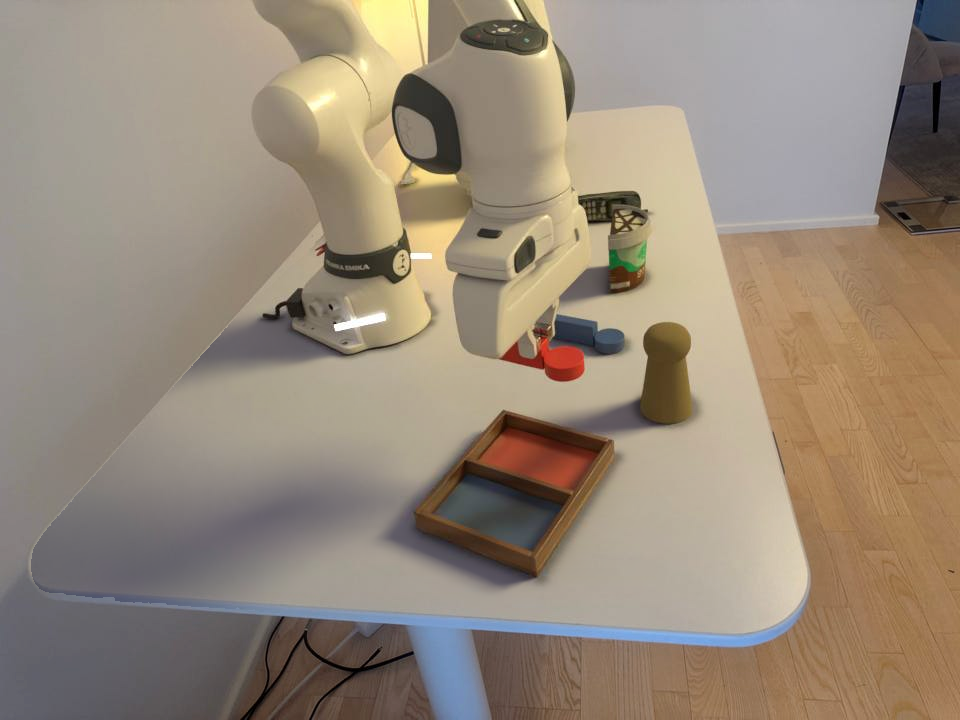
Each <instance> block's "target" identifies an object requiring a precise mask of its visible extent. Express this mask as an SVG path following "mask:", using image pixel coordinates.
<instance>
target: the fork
mask: <svg viewBox="0 0 960 720" xmlns="http://www.w3.org/2000/svg"><path fill="white" fill-rule="evenodd" d="M416 166H417V165H415V164H414V163H412V162H411V165H410V167H409V169H408V172H407V174H406V176H405V177H404V179H402V180H401V182H400V183H398V185H399V186H400V185H410V184H413V183H414V182H415V181H416V179H415V177H413V174H412V171H413V169H414V168H415V167H416Z"/></svg>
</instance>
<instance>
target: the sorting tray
mask: <svg viewBox="0 0 960 720" xmlns="http://www.w3.org/2000/svg"><path fill="white" fill-rule="evenodd" d="M614 460H615V440H614V439H611V438H608V437H603V436H600V435H596V434H593V433H590V432H586V431H581V430H579V429H574V428H572V427H568V426H564V425H560V424H556V423H553V422H549V421H545V420H542V419H538V418H536V417H535V418H534V417H531V416H528V415H524V414H520V413H516V412H513V411H509V410H507V409H506V410H505V409H502V410H500V412H499V413H498V415H497V416H496V417H494V419H493V420H492V421H491V422H490V424H489V425H488V426H487V427H486V428H485V429H484V431H483V432H482V433H481V434H480V435H479V436H478V438H476V439H475V441H474V442H473V443H472V444H471V445H470V447H468V449H467V450H466V451H465V452H464V453H463V455H462V456H461V457H460V458H459V459H458V460H457V461H456V462H455V463H454V465H453V466H452V467H451V468H450V469H449V470H448V471H447V473H445V475H444V476H443V477H442V478H441V480H440V481H439V482H438V483H436V484H435V486H434V487H433V489H432V490H430V492H429V493H428V494H427V495H426V496H425V498H424V499H423V500H422V501H421V502H420V503H419V504H418V505H417V507H416V508H415V509H414V510H413V515H414V519H415V523H416V527H417V530H419V531H421V532H424V533H426V534H429V535H431V536H433V537H436V538H439V539H442V540H444V541H446V542H449V543H452V544H454V545H457V546H459V547H461V548H464V549H467V550H469V551H471V552H474V553H477V554H479V555H481V556H484V557H485V558H488V559H490V560H494V561H496V562H499V563H502V564H504V565H507V566H509V567H511V568H514V569H516V570H519V571H521V572H524V573H526V574H529V575H531V576H534V577H536V578H538V577H539V576H540V575H541V572H542V571H543V570H544V568H545V566H546V565H547V563H548V561H550V558H551V557H552V555H553V554H554V552H555V551H556V549H557V548H558V546H559V544H560V543H561V541H562V540H563V538H564V537H565V535H566V534H567V532H568V531H569V529H570V528H571V526H572V524H573V523H574V521H575V520H576V518H577V517H578V515H579V514H580V512H581V510H582V509H583V507H584V506H585V504H586V503H587V502H588V500H589V498H590V496H591V495H592V493H593V492H594V491H595V489H596V487H597V486H598V484H599V483H600V481H601V480H602V478H603V477H604V475H605V473H606V472H607V470H608V469H609V467H610V466H611V464H612V463H613V461H614Z"/></svg>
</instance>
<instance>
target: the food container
mask: <svg viewBox="0 0 960 720" xmlns="http://www.w3.org/2000/svg"><path fill="white" fill-rule="evenodd" d="M643 210H644V209H642V208H641V209H639V208H637V207H634V206H629V205H612V221H611V222H610V231H609V234H608V235H607V250H608V267H609V289H610V290H609V292H610V294H617V293H623V292H628V291H630V290H634V289H636V288H638V287H639V286H640V285H642V284H643V282H644V281H645V273H646V262H647V261H646V260H647V249H648V248H647V247H648V239H649V238H650V237H651V235H652V233H653V227H652V222H651V219H650V217H649V215H648V213H646V212H645V211H643Z"/></svg>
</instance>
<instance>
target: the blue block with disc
mask: <svg viewBox="0 0 960 720" xmlns="http://www.w3.org/2000/svg"><path fill="white" fill-rule="evenodd" d="M554 327H555V335H554V337H553V338H554V339H558V340H563V341H568V342H572V343H578V344H583V345H588V346H592V347H594V348H595V350H596V351H597V352H599V353H601V354H606V355H612V354H613V355H614V354H617V353H619V352H621V351H623V350H624V348H625V346H626V345H625V344H626V342H625V340H626V338H625V333H624V332H623V331H622V330H620V329H618V328H614V327H613V328H611V327H607V328H602V329H600V330H599V327H598V321H596V320H590V319H586V318H580V317H576V316H575V317H574V316H569V315H564V314H559V313H557V314H556V318H555V322H554ZM553 338H552V339H553Z"/></svg>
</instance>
